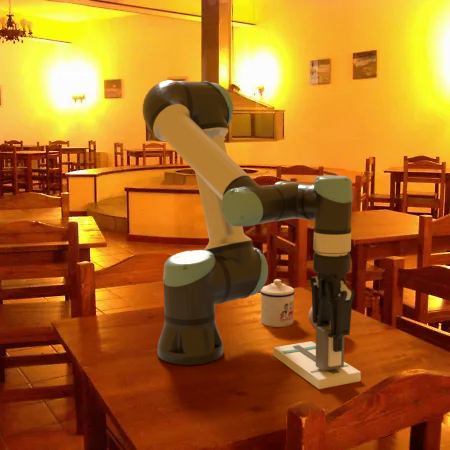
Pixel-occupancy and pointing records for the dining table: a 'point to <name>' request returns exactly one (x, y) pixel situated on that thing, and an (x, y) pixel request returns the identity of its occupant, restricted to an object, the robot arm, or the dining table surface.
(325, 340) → the fader tab
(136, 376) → the dining table surface
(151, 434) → the dining table surface
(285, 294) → the teacup with lid
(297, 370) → the slider console
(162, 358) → the robot arm
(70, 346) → the dining table surface
